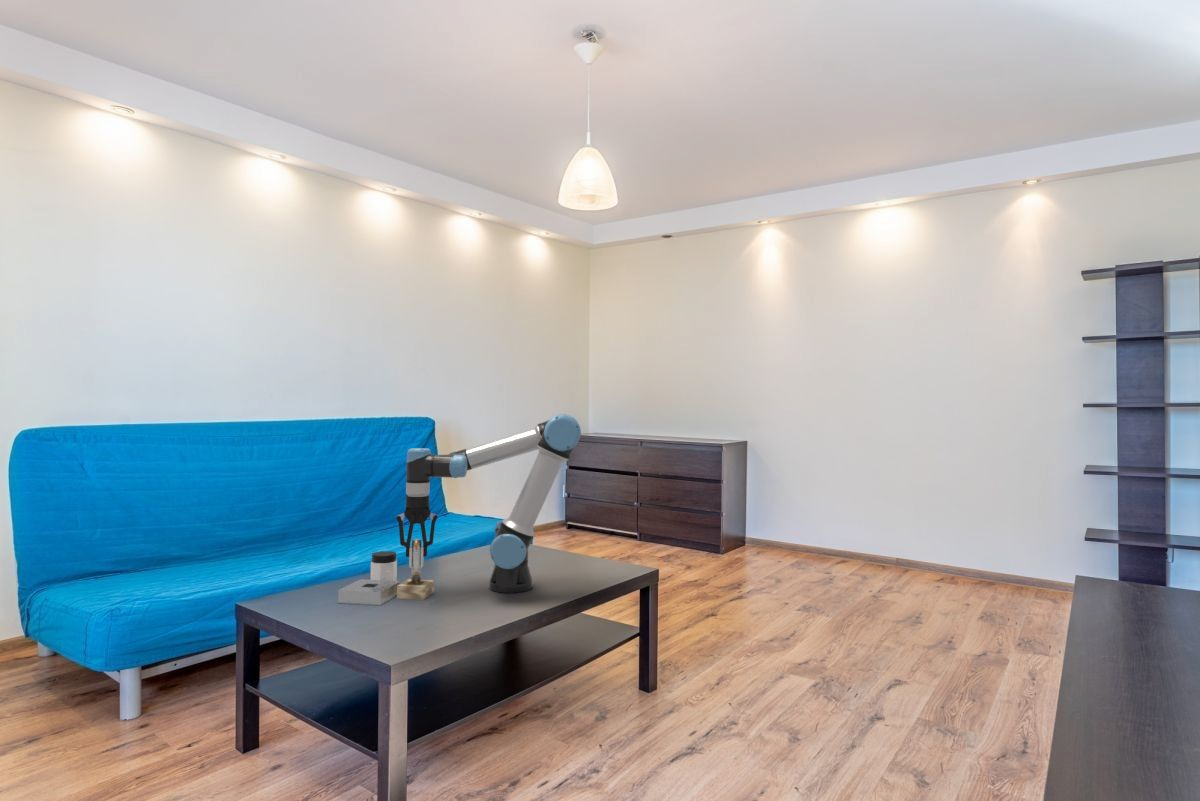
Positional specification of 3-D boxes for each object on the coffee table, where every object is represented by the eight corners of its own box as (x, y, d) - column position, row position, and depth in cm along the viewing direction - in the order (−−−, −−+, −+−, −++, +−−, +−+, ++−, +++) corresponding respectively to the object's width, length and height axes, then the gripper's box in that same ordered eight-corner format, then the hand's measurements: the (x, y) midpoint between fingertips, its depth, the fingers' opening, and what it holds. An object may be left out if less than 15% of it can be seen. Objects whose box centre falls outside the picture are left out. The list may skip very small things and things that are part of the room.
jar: (373, 592, 227) (374, 556, 228) (367, 587, 234) (367, 552, 235) (399, 589, 232) (400, 554, 233) (393, 583, 239) (393, 550, 239)
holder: (434, 595, 225) (434, 580, 225) (423, 602, 216) (423, 587, 216) (408, 593, 226) (408, 578, 226) (396, 601, 217) (397, 585, 218)
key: (420, 585, 218) (420, 541, 219) (410, 585, 218) (411, 541, 218) (421, 579, 225) (422, 537, 225) (411, 580, 225) (412, 538, 225)
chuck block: (399, 596, 223) (400, 581, 223) (380, 608, 209) (380, 592, 209) (359, 594, 225) (360, 579, 225) (338, 606, 211) (338, 590, 211)
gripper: (442, 493, 227) (441, 563, 227) (393, 494, 224) (391, 564, 223) (442, 496, 220) (441, 568, 220) (391, 496, 217) (389, 570, 216)
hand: (416, 566), depth 221 cm, fingers closed on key, 3 cm apart
